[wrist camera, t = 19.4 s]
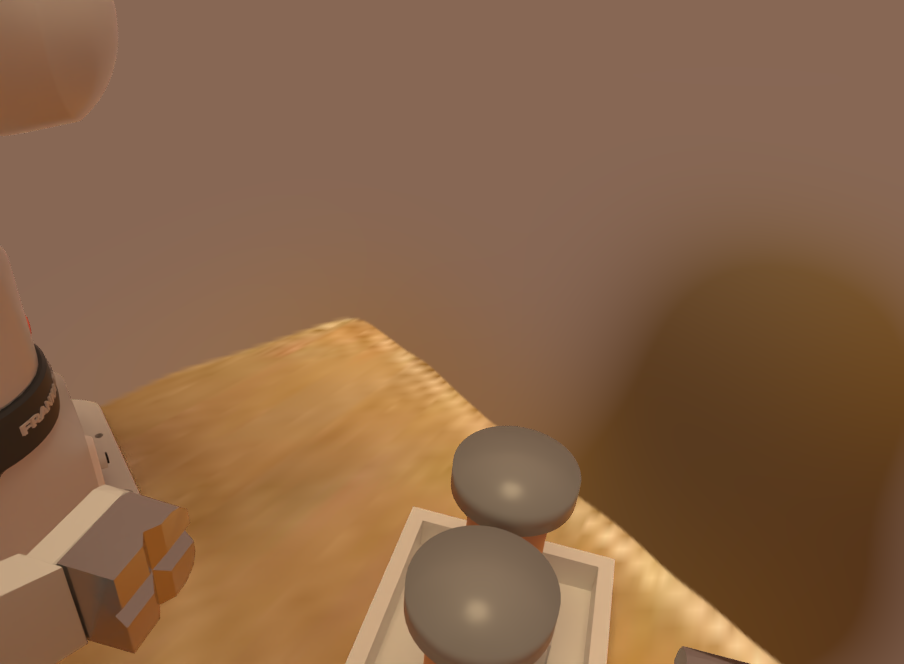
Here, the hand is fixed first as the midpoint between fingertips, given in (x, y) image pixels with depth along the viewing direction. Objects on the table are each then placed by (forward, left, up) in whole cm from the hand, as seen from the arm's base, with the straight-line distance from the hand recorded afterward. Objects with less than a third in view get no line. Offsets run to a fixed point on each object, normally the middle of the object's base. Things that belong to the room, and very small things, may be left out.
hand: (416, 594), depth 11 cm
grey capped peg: (-15, +13, -29) cm, 35 cm away
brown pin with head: (-9, +8, -29) cm, 31 cm away
